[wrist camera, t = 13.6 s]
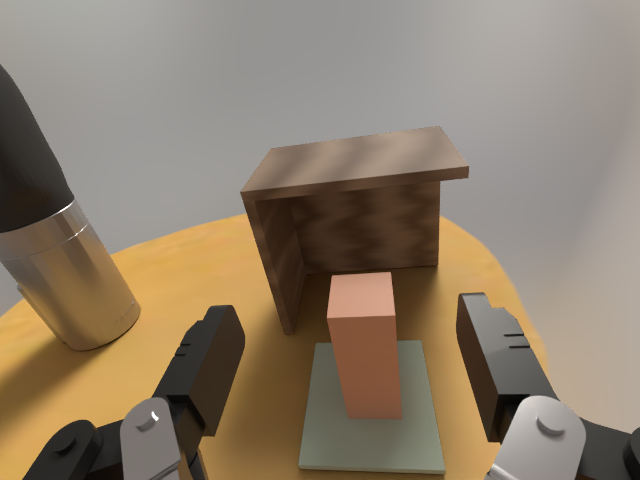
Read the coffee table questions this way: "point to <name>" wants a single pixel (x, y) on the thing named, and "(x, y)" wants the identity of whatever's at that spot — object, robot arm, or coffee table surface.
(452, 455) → the coffee table surface
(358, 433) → the sage mat
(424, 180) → the walnut box
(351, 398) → the terracotta block
